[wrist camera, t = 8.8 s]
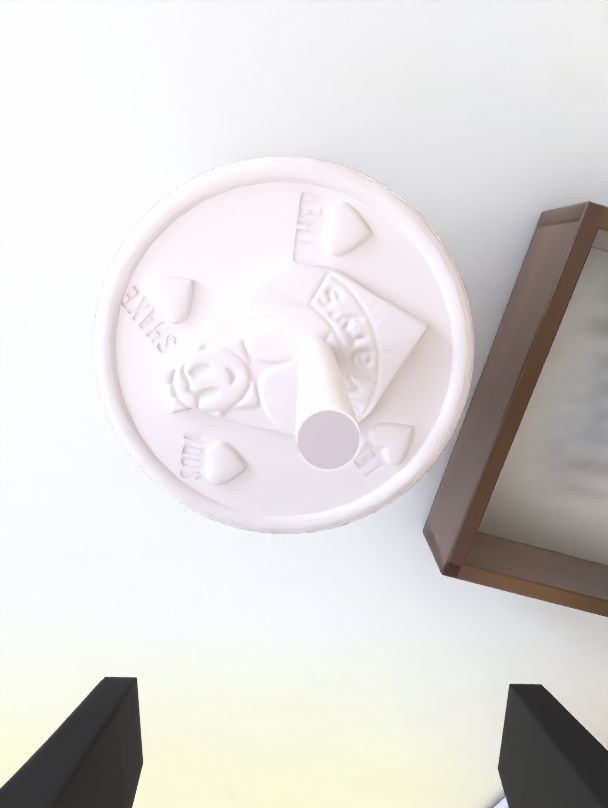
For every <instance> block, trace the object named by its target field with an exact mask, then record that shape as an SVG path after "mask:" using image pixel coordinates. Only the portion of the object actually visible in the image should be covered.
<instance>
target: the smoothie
mask: <svg viewBox="0 0 608 808" xmlns="http://www.w3.org/2000/svg"><path fill="white" fill-rule="evenodd" d="M93 354H94V363H95V373H96V377H97V382H98V387H99V391H100V395H101V398H102V401H103V404H104V408H105V410H106V412H107V415H108V417H109V420H110V422H111V424H112V426H113V428H114V430H115V432H116V434H117V436H118V437H119V439H120V441H121V442H122V444H123V445H124V447H125V449H126V450H127V452H128V453H129V455H130V456H131V457H132V458H133V460H134V461H135V462H136V463H137V465H138V466H139V467H140V468H141V469H142V470H143V471H144V473H145V474H146V475H147V476H148V477H149V478H150V479H151V480H152V481H153V482H154V483H156V484H157V485H158V486H159V487H160V488H161V489H162V490H164V491H165V492H166V493H167V494H169V495H170V496H171V497H173V498H174V499H176V500H177V501H178V502H180V503H181V504H183V505H185V506H187V507H188V508H190V509H192V510H193V511H195V512H197V513H199V514H201V515H203V516H206V517H208V518H210V519H212V520H215V521H218V522H220V523H223V524H226V525H229V526H233V527H236V528H240V529H244V530H249V531H255V532H261V533H272V534H299V533H310V532H316V531H322V530H327V529H331V528H335V527H338V526H342V525H346V524H348V523H351V522H353V521H356V520H359V519H361V518H363V517H365V516H368V515H370V514H372V513H374V512H376V511H378V510H379V509H381V508H383V507H384V506H386V505H388V504H389V503H391V502H392V501H394V500H395V499H396V498H398V497H399V496H400V495H402V494H403V493H405V492H406V491H407V490H408V489H409V488H410V487H411V486H413V485H414V484H415V483H416V482H417V481H418V480H419V479H420V478H421V477H422V476H423V475H424V474H425V473H426V472H427V471H428V469H429V468H430V467H431V466H432V465H433V463H434V462H435V461H436V459H437V458H438V457H439V456H440V454H441V453H442V451H443V450H444V448H445V446H446V445H447V443H448V442H449V440H450V438H451V436H452V434H453V432H454V430H455V428H456V426H457V425H458V422H459V420H460V417H461V415H462V412H463V410H464V407H465V404H466V400H467V397H468V393H469V390H470V384H471V379H472V373H473V364H474V330H473V321H472V314H471V310H470V305H469V301H468V296H467V293H466V290H465V287H464V284H463V281H462V278H461V276H460V274H459V272H458V269H457V267H456V265H455V263H454V261H453V259H452V257H451V255H450V254H449V252H448V250H447V249H446V247H445V245H444V243H443V242H442V241H441V239H440V238H439V237H438V235H437V234H436V232H435V231H434V230H433V228H432V227H431V226H430V225H429V224H428V223H427V222H426V220H425V219H424V218H423V217H422V216H421V215H420V214H419V213H418V212H417V211H416V210H415V209H414V208H413V207H412V206H411V205H409V204H408V203H407V202H406V201H405V200H404V199H403V198H401V197H400V196H398V195H397V194H396V193H394V192H393V191H392V190H390V189H389V188H387V187H386V186H384V185H382V184H381V183H379V182H377V181H375V180H374V179H372V178H370V177H368V176H366V175H364V174H361V173H359V172H357V171H355V170H352V169H350V168H347V167H343V166H340V165H337V164H334V163H331V162H326V161H321V160H317V159H312V158H302V157H293V156H270V157H261V158H252V159H247V160H243V161H238V162H233V163H230V164H227V165H224V166H221V167H218V168H215V169H212V170H209V171H207V172H205V173H203V174H201V175H199V176H196V177H194V178H192V179H191V180H189V181H187V182H186V183H184V184H182V185H181V186H179V187H177V188H176V189H174V190H173V191H172V192H170V193H169V194H168V195H166V196H165V197H164V198H162V199H161V200H160V201H159V202H158V203H156V204H155V205H154V206H153V207H152V208H151V209H150V210H149V211H148V212H147V213H146V214H145V215H144V216H143V217H142V218H141V220H140V221H139V222H138V223H137V224H136V225H135V226H134V228H133V229H132V230H131V232H130V233H129V234H128V236H127V237H126V239H125V240H124V242H123V243H122V244H121V246H120V248H119V250H118V252H117V253H116V255H115V257H114V259H113V261H112V263H111V265H110V268H109V270H108V272H107V275H106V277H105V279H104V282H103V286H102V289H101V292H100V296H99V299H98V304H97V310H96V315H95V323H94V334H93Z"/></svg>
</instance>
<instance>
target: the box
mask: <svg viewBox="0 0 608 808" xmlns="http://www.w3.org/2000/svg"><path fill="white" fill-rule="evenodd" d="M591 247H594V248H597V249H601V250H604V251H607V252H608V207H606V206H603V205H599V204H596V203H593V202H590V201H589V202H584V203H580V204H575V205H571V206H566V207H562V208H557V209H553V210H549V211H544V212H542V213H541V216H540V219H539V222H538V224H537V227H536V230H535V233H534V235H533V238H532V241H531V244H530V246H529V249H528V252H527V254H526V257H525V260H524V262H523V265H522V268H521V270H520V273H519V276H518V278H517V281H516V284H515V286H514V289H513V292H512V294H511V297H510V300H509V302H508V305H507V308H506V310H505V313H504V316H503V318H502V321H501V324H500V326H499V329H498V332H497V334H496V337H495V340H494V342H493V345H492V348H491V350H490V353H489V356H488V358H487V361H486V364H485V366H484V369H483V372H482V374H481V377H480V380H479V382H478V385H477V388H476V390H475V393H474V396H473V398H472V401H471V404H470V406H469V409H468V412H467V414H466V417H465V420H464V422H463V425H462V428H461V430H460V433H459V436H458V438H457V441H456V444H455V446H454V449H453V452H452V454H451V457H450V460H449V462H448V465H447V468H446V470H445V473H444V476H443V478H442V481H441V484H440V486H439V489H438V492H437V494H436V497H435V500H434V502H433V505H432V508H431V510H430V513H429V516H428V518H427V521H426V524H425V527H424V529H423V534H424V536H425V538H426V540H427V542H428V545H429V547H430V549H431V551H432V554H433V556H434V558H435V560H436V563H437V565H438V567H439V569H440V572H441V574H442V575H445V576H449V577H453V578H457V579H461V580H465V581H468V582H472V583H476V584H480V585H484V586H488V587H492V588H496V589H500V590H504V591H508V592H512V593H516V594H519V595H523V596H527V597H531V598H535V599H539V600H543V601H547V602H551V603H555V604H559V605H563V606H567V607H570V608H574V609H578V610H582V611H586V612H590V613H594V614H598V615H602V616H606V617H608V566H605V565H601V564H597V563H593V562H589V561H586V560H582V559H578V558H574V557H570V556H567V555H563V554H559V553H555V552H551V551H548V550H544V549H540V548H536V547H532V546H528V545H525V544H521V543H517V542H513V541H509V540H506V539H502V538H498V537H494V536H490V535H486V534H483V533H479V532H477V529H478V527H479V524H480V522H481V519H482V517H483V514H484V512H485V509H486V507H487V504H488V502H489V499H490V497H491V494H492V492H493V490H494V487H495V485H496V482H497V480H498V477H499V475H500V472H501V470H502V467H503V465H504V462H505V460H506V457H507V455H508V452H509V450H510V447H511V445H512V442H513V440H514V437H515V435H516V432H517V430H518V428H519V425H520V423H521V420H522V418H523V415H524V413H525V410H526V408H527V405H528V403H529V400H530V398H531V395H532V393H533V390H534V388H535V385H536V383H537V380H538V378H539V375H540V373H541V370H542V368H543V365H544V363H545V361H546V358H547V356H548V353H549V351H550V348H551V346H552V343H553V341H554V338H555V336H556V333H557V331H558V328H559V326H560V323H561V321H562V318H563V316H564V313H565V311H566V308H567V306H568V303H569V301H570V299H571V296H572V294H573V291H574V289H575V286H576V284H577V281H578V279H579V276H580V274H581V271H582V269H583V266H584V264H585V261H586V259H587V256H588V254H589V251H590V249H591Z"/></svg>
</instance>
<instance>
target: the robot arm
mask: <svg viewBox="0 0 608 808" xmlns="http://www.w3.org/2000/svg"><path fill="white" fill-rule="evenodd" d="M142 765H143V755H142V741H141V728H140V714H139V700H138V687H137V678H134V677H105V678H104V679H103V680H102V681H100V682H99V684H98V685H97V686H96V687H95V688H94V689H93V690H92V691H91V692H90V694H89V695H88V696H87V697H86V698H85V699H84V700H83V701H82V702H81V704H80V705H79V706H78V707H77V708H76V709H75V710H74V711H73V712H72V714H71V715H70V716H69V717H68V718H67V719H66V720H65V721H64V722H63V723H62V725H61V726H60V727H59V728H58V729H57V730H56V731H55V732H54V733H53V734H52V735H51V737H50V738H49V739H48V740H47V741H46V742H45V743H44V744H43V745H42V746H41V747H40V748H39V749H38V750H37V751H36V752H35V753H34V754H33V756H32V757H31V758H30V759H29V760H28V761H27V762H26V763H25V764H24V765H23V766H22V767H21V768H20V769H19V770H18V771H17V772H16V773H15V774H14V775H13V776H12V777H11V778H10V779H9V780H8V781H7V782H6V783H5V784H4V786H2V787H1V788H0V808H132V805H133V802H134V798H135V794H136V790H137V785H138V781H139V777H140V773H141V769H142ZM498 771H499V774H500V778H501V782H502V785H503V789H504V793H505V797H504V798H503V799H502V800H501V801H500V802H499V803H498V804H497V805H496V806H495V807H494V808H608V751H607V750H606V749H605V748H604V747H603V746H602V745H601V744H600V743H599V742H598V741H597V740H596V739H595V738H594V737H593V736H592V735H591V734H590V733H589V732H588V731H587V730H586V729H585V728H584V727H583V726H582V725H581V724H580V723H579V722H578V721H577V720H576V719H575V718H574V717H573V716H572V715H571V714H570V713H569V712H568V711H567V710H566V709H565V708H564V707H563V706H562V705H561V704H560V703H559V702H558V701H557V700H556V699H555V698H554V697H553V696H552V695H551V694H550V693H549V692H548V691H547V690H546V689H545V688H544V687H543V686H542V685H541V684H509V692H508V699H507V706H506V713H505V721H504V728H503V735H502V743H501V750H500V757H499V764H498Z"/></svg>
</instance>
